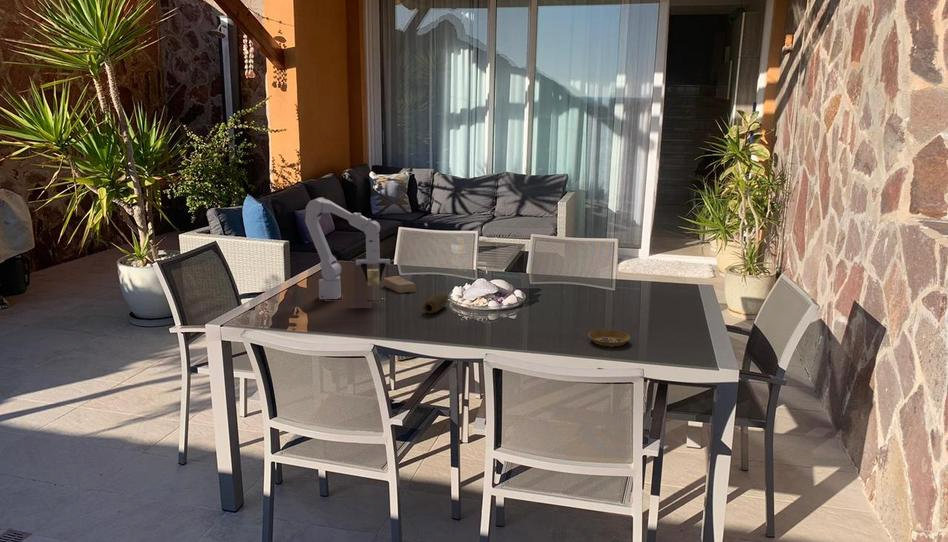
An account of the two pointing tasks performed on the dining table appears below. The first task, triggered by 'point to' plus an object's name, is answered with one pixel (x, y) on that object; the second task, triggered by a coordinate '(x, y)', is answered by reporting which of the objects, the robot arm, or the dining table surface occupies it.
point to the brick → (399, 284)
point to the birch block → (373, 277)
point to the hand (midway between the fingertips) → (373, 280)
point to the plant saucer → (609, 337)
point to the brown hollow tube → (435, 302)
